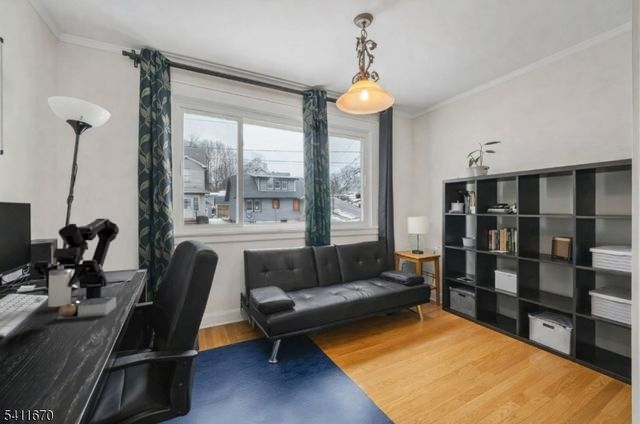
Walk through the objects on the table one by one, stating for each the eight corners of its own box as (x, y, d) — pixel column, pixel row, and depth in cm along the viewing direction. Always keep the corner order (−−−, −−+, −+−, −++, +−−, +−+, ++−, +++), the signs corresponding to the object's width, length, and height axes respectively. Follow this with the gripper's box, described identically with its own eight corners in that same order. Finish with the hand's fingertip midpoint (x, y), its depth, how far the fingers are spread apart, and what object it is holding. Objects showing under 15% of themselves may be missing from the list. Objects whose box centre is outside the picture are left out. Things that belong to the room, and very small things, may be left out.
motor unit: (71, 310, 111) (72, 296, 111) (116, 307, 116) (116, 294, 116) (56, 319, 102) (57, 304, 102) (105, 315, 107) (106, 301, 107)
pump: (53, 302, 101) (54, 264, 101) (73, 300, 103) (74, 263, 103) (44, 307, 96) (45, 268, 96) (66, 305, 98) (67, 267, 98)
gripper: (35, 240, 100) (13, 276, 90) (96, 239, 106) (82, 273, 96) (48, 257, 108) (28, 293, 97) (104, 256, 114) (91, 289, 103)
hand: (58, 287), depth 98 cm, fingers closed on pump, 6 cm apart
